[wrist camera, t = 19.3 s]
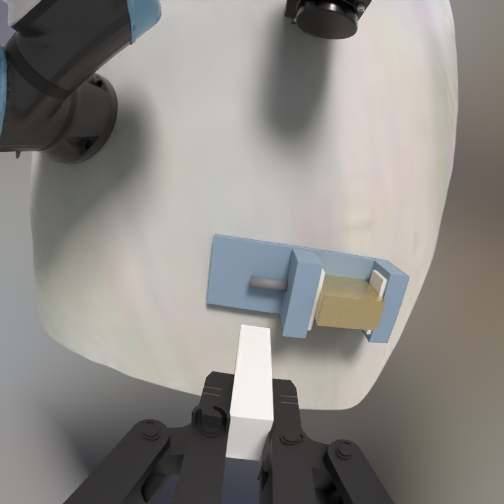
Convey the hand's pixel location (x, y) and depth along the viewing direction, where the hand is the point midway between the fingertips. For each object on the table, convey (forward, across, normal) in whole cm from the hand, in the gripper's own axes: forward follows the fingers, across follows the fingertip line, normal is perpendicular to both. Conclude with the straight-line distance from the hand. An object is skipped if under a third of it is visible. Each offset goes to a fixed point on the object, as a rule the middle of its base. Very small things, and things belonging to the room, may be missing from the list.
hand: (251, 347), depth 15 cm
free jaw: (+25, +4, -5) cm, 25 cm away
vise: (+26, +7, -5) cm, 28 cm away
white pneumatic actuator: (+27, +3, +36) cm, 45 cm away
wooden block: (+25, +12, -5) cm, 28 cm away
